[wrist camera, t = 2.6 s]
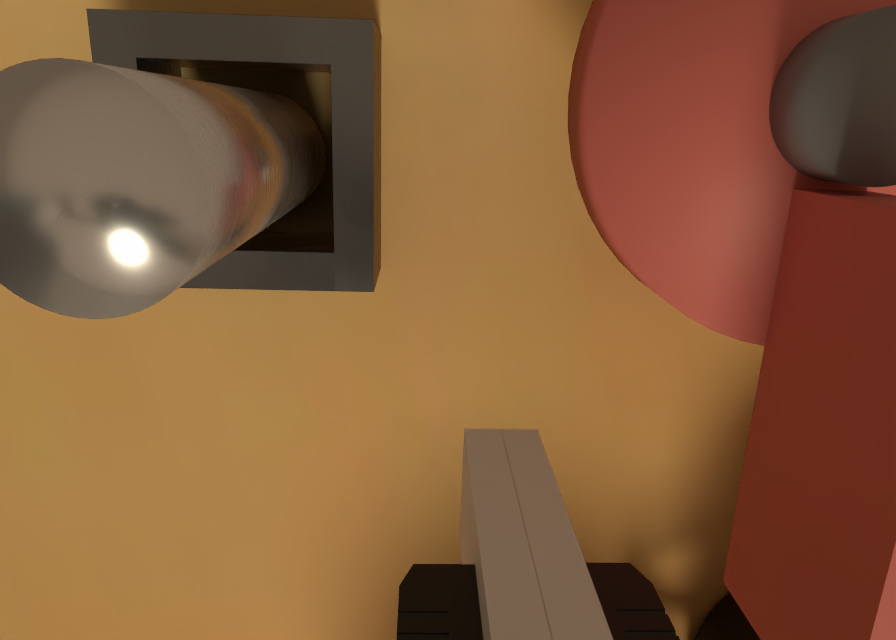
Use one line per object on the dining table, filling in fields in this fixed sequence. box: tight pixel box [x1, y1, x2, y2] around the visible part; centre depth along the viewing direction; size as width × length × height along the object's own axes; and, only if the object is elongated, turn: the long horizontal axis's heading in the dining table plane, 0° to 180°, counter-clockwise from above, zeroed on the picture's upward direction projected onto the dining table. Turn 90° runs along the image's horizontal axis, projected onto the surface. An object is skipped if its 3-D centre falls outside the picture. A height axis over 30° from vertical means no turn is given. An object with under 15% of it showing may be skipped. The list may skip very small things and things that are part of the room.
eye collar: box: [87, 9, 381, 292], centre depth 21 cm, size 8×8×4 cm
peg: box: [0, 58, 326, 319], centre depth 17 cm, size 4×4×13 cm
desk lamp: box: [568, 0, 896, 640], centre depth 14 cm, size 12×19×8 cm, turn 178°
